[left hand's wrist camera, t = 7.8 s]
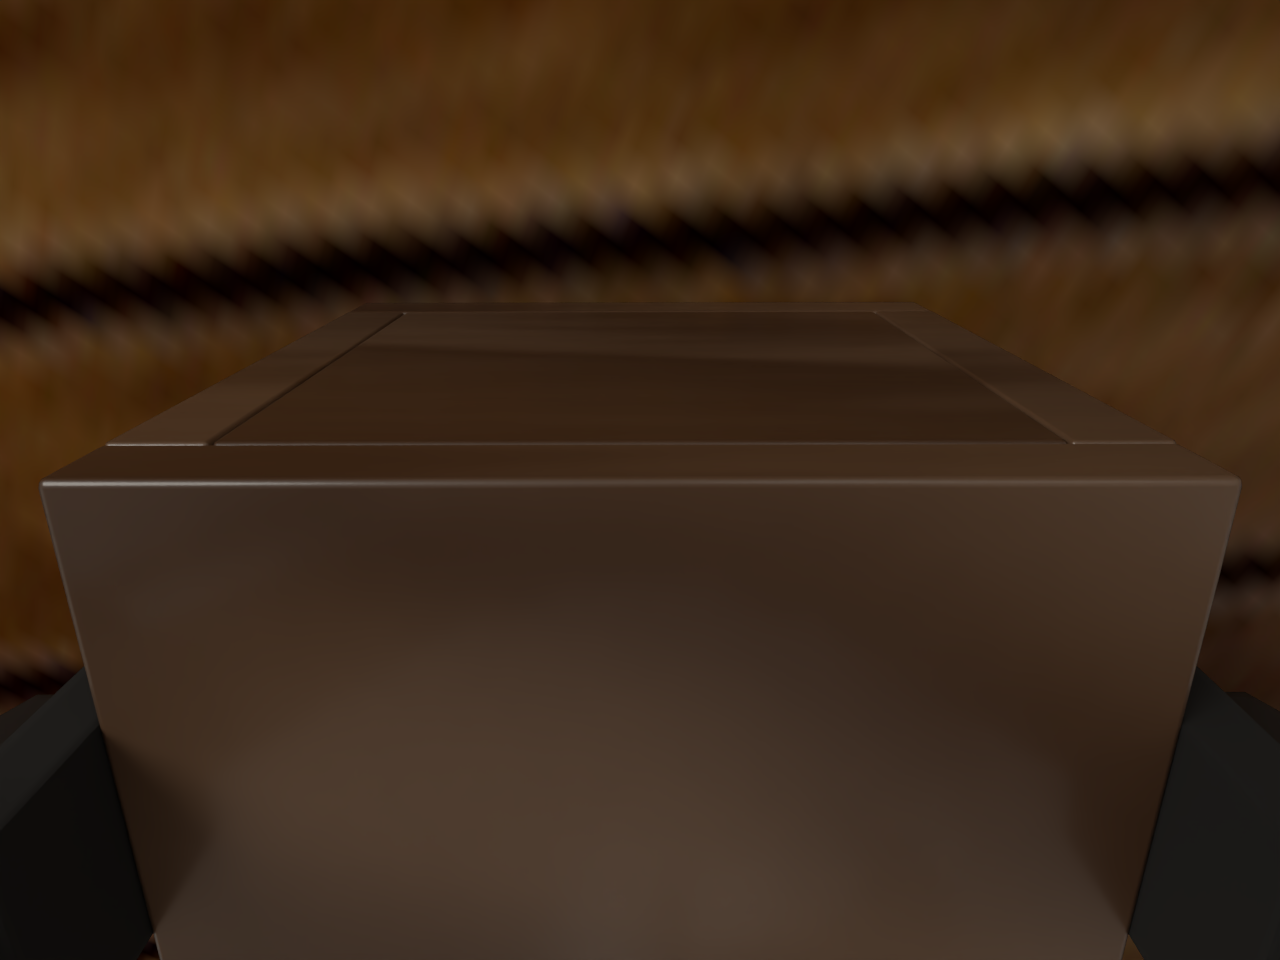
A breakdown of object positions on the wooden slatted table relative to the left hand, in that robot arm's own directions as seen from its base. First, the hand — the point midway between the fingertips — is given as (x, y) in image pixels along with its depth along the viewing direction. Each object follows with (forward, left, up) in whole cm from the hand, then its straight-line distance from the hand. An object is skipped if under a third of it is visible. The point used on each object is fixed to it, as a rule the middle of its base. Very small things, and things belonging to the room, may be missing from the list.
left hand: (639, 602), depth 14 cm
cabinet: (+1, +5, -5) cm, 7 cm away
